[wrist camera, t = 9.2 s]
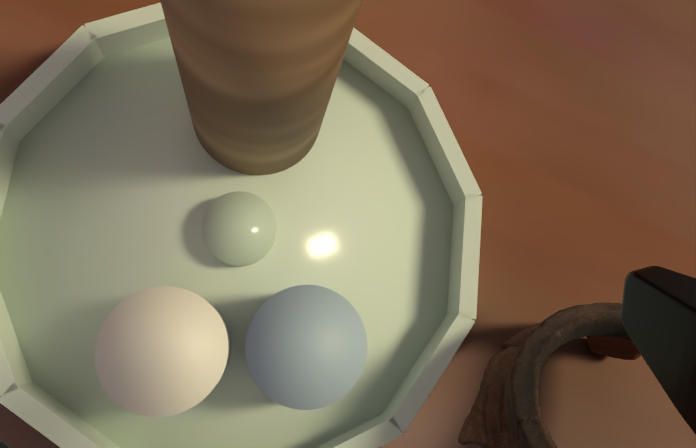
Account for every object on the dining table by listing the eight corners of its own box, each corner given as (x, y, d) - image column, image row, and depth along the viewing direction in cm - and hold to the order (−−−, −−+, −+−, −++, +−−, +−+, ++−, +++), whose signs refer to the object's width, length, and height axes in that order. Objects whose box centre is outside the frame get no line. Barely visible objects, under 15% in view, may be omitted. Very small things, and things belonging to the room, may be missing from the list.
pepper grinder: (285, 197, 19) (344, -47, 7) (167, 136, 19) (21, -225, 7) (341, 93, 20) (475, -271, 8) (231, 34, 20) (202, -431, 8)
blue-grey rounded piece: (346, 405, 18) (361, 415, 16) (238, 395, 18) (236, 403, 15) (357, 298, 19) (372, 292, 17) (254, 286, 19) (254, 277, 16)
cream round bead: (221, 411, 18) (217, 422, 15) (106, 401, 17) (81, 411, 15) (238, 300, 18) (236, 294, 16) (128, 287, 18) (108, 279, 15)
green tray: (444, 496, 19) (466, 514, 17) (-69, 461, 17) (-111, 476, 15) (469, 67, 22) (490, 42, 21) (49, -9, 20) (28, -47, 18)
